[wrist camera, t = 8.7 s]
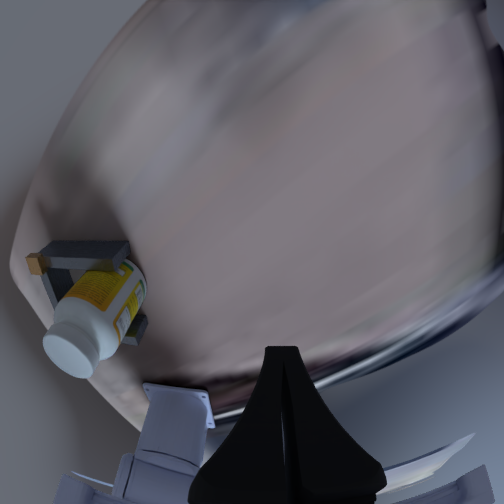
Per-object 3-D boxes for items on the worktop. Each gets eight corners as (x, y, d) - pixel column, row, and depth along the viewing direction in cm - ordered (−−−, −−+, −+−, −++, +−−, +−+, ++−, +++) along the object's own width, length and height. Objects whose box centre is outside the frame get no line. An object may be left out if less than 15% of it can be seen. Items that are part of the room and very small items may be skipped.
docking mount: (148, 325, 25) (135, 354, 21) (76, 316, 25) (60, 339, 22) (127, 237, 21) (105, 261, 17) (49, 237, 21) (25, 257, 17)
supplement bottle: (159, 293, 23) (118, 381, 14) (118, 311, 24) (75, 389, 16) (123, 241, 21) (58, 317, 12) (84, 266, 22) (24, 335, 13)
